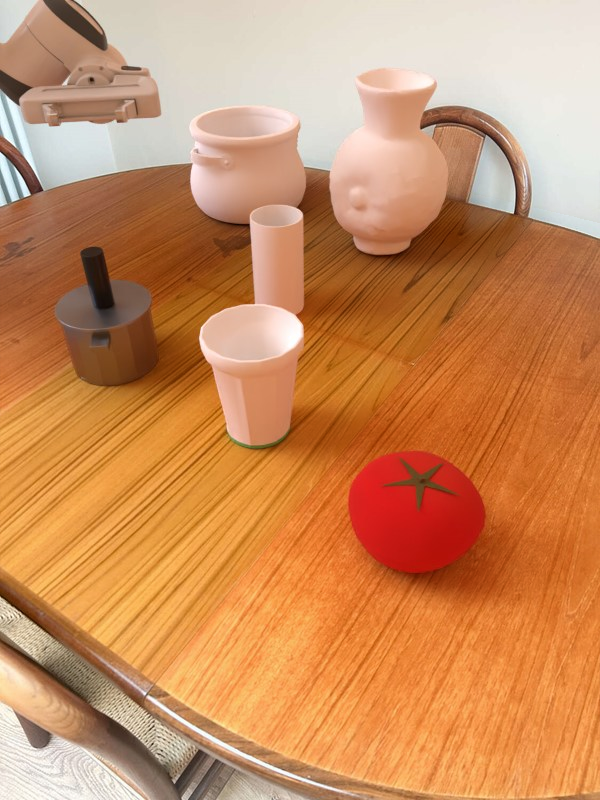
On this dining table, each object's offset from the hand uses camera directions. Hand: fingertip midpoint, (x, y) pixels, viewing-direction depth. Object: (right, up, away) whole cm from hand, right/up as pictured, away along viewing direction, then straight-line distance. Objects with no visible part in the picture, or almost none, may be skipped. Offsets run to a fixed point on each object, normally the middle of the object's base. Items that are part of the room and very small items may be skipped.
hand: (87, 118), depth 93 cm
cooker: (+2, -34, +6) cm, 35 cm away
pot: (+19, +2, +50) cm, 53 cm away
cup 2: (+25, -44, -6) cm, 50 cm away
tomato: (+42, -56, -20) cm, 73 cm away
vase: (+46, -10, +34) cm, 58 cm away
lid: (+2, -27, 0) cm, 27 cm away
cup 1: (+27, -24, +18) cm, 40 cm away
